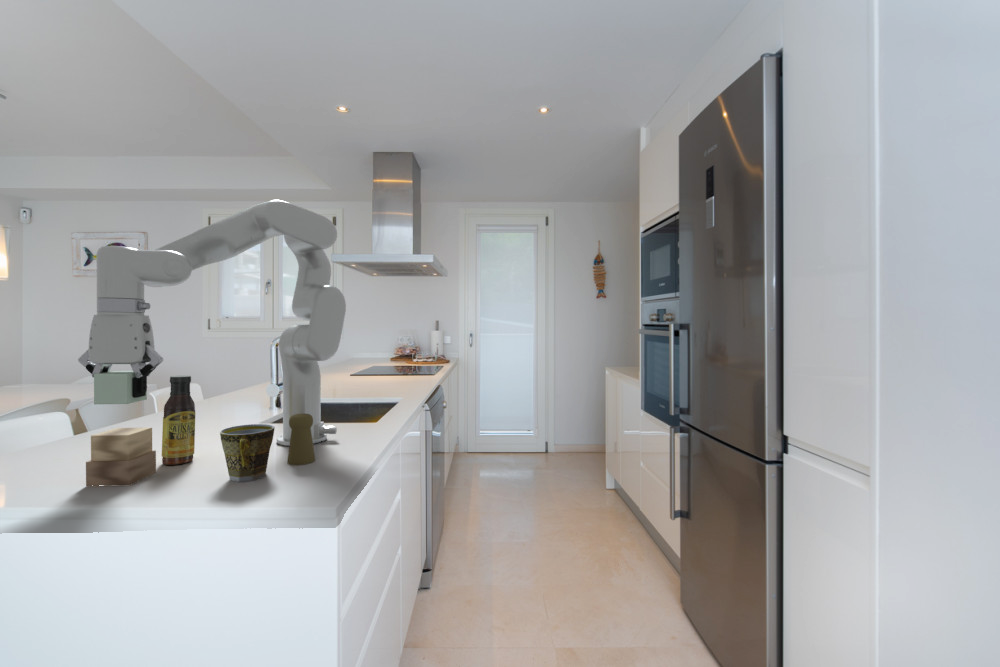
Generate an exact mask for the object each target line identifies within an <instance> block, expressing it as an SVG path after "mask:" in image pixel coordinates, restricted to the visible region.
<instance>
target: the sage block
mask: <svg viewBox="0 0 1000 667" xmlns="http://www.w3.org/2000/svg"><path fill="white" fill-rule="evenodd" d="M133 378H135V374H134V372H133V370H114V371H109V372H105V373H97V374H94V378H93V405H130V404H134V403H138V402H142V401H145V400H146V401H147V399H148V398H147V395H148V392H147V391H148V390H147V391H146V395H145V396H142V397H138V398H133V396H132V379H133Z"/></svg>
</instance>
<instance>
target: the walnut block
mask: <svg viewBox="0 0 1000 667" xmlns="http://www.w3.org/2000/svg"><path fill="white" fill-rule="evenodd" d="M156 452H157V451H156V450H152V451H151V452H149V453H146V454H144V455H141V456H138V457H136V458H133V459H131V460H128V461H91V459H90V460H88V461H85V487H86V486H92V485H93V486H94V487H100V486H99V485H130V486H132V485H134V484H136V483H138V482H141V481H142V480H145V479H146V477H147V478H149V477H150V475H151V476H153V475H154V473H155V474H157V453H156ZM152 474H153V475H152ZM148 476H149V477H148ZM137 481H138V482H137ZM135 482H136V483H135ZM133 483H134V484H133ZM131 484H132V485H131Z"/></svg>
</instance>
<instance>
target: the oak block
mask: <svg viewBox="0 0 1000 667" xmlns="http://www.w3.org/2000/svg"><path fill="white" fill-rule="evenodd" d="M151 451H153V427H116V428H113V429H109V430H106V431H102V432H98V433H95V434H92V435H90V460H91V461H128V460H131V459H133V458H136V457H138V456H141V455H144V454H146V453H149V452H151Z"/></svg>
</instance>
